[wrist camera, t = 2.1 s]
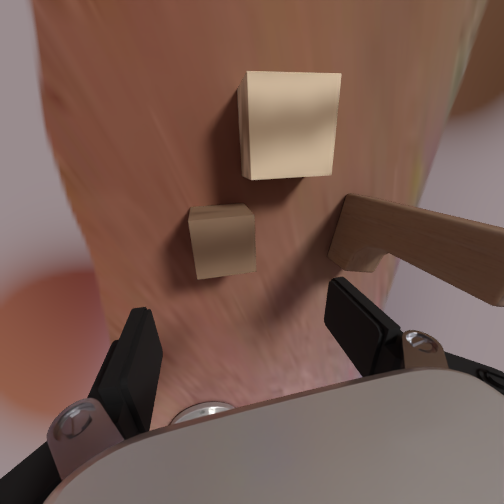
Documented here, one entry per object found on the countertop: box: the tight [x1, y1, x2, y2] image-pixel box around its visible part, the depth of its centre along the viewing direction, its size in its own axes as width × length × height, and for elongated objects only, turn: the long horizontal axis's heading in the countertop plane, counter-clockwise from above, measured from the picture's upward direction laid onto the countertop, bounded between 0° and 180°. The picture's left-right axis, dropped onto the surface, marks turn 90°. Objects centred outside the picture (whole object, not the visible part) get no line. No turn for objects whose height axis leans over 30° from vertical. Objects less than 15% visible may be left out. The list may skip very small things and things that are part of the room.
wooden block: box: [328, 193, 504, 307], centre depth 22 cm, size 9×4×18 cm, turn 170°
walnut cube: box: [188, 203, 256, 280], centre depth 24 cm, size 6×6×6 cm
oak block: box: [237, 71, 342, 180], centre depth 22 cm, size 8×8×5 cm
